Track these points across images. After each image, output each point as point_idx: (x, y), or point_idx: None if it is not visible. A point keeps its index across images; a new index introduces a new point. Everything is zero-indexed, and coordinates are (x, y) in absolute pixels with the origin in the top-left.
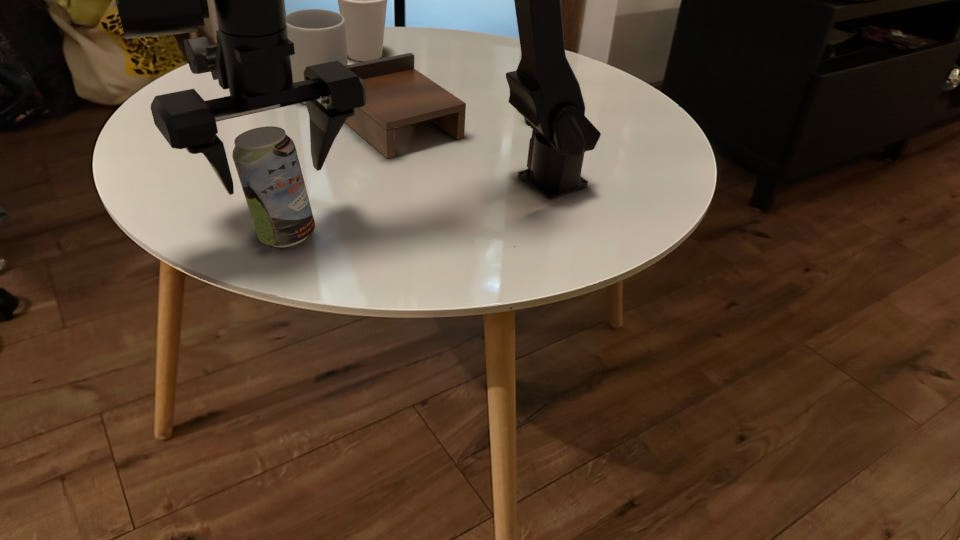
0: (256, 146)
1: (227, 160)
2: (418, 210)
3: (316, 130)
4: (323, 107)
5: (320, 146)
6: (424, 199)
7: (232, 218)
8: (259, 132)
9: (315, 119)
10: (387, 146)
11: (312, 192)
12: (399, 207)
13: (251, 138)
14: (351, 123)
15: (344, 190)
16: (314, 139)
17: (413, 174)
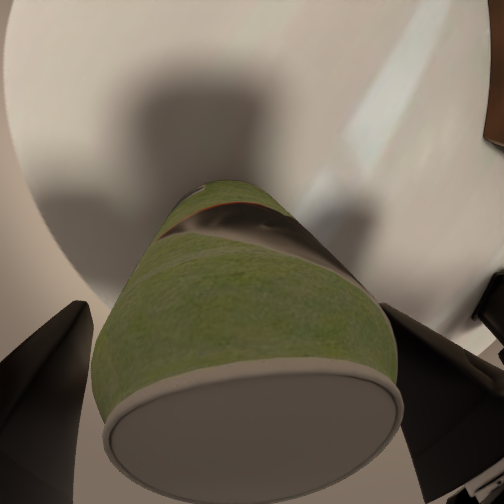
0: (195, 498)
1: (72, 488)
2: (417, 275)
3: (439, 416)
4: (475, 478)
5: None
6: (439, 257)
7: (162, 95)
8: (303, 426)
9: (464, 435)
10: (500, 142)
11: (362, 117)
12: (412, 256)
13: (213, 458)
14: (497, 34)
15: (403, 157)
16: (426, 380)
17: (473, 197)
